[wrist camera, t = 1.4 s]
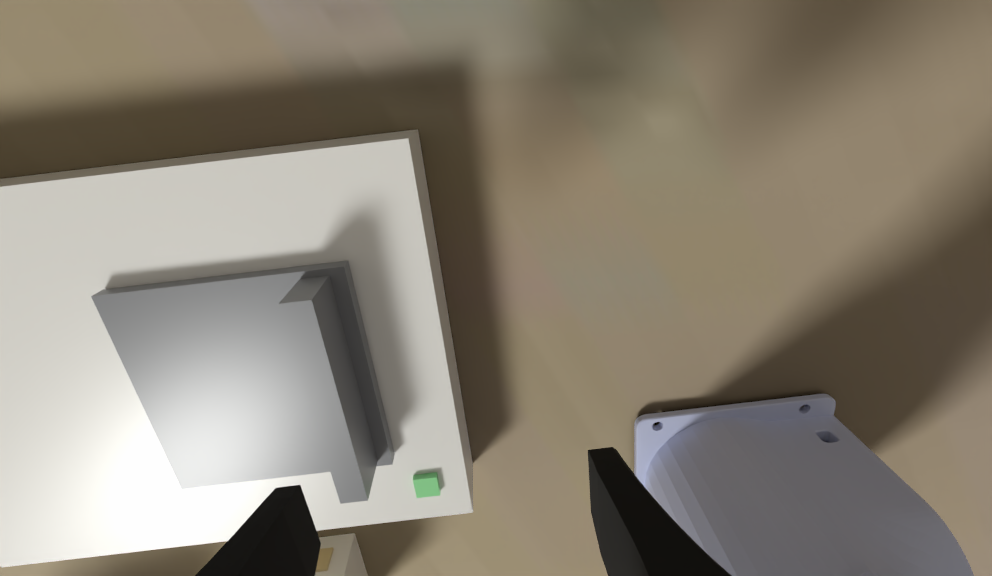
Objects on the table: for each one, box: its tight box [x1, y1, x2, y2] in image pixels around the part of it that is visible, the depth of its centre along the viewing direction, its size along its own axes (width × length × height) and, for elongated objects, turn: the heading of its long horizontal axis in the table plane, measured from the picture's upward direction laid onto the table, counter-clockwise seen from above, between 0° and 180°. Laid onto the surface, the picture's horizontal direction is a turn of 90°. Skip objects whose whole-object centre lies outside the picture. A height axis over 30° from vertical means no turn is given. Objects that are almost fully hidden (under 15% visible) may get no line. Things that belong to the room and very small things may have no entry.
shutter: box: [91, 261, 395, 504], centre depth 18 cm, size 8×8×3 cm
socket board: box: [0, 129, 473, 567], centre depth 20 cm, size 21×16×3 cm
